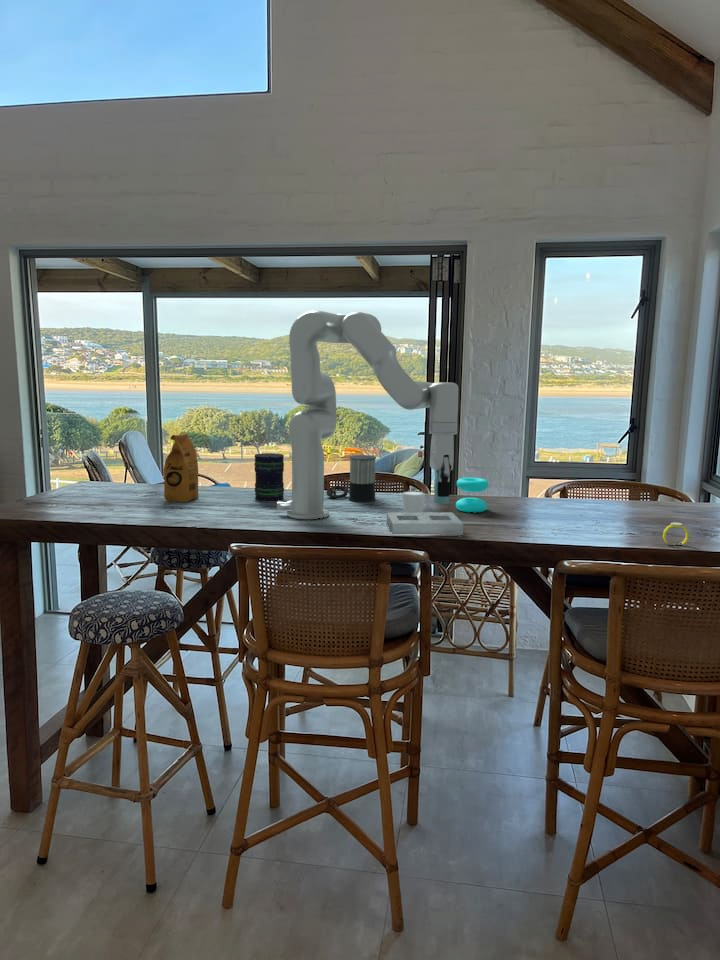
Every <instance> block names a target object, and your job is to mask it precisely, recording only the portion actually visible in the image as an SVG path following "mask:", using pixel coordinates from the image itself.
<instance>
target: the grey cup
mask: <svg viewBox="0 0 720 960" xmlns="http://www.w3.org/2000/svg"><path fill="white" fill-rule="evenodd" d="M425 496H426V493H425V492H422V491H415V490H411V491H404V492H402V504H403V505H402V507H403V512H424V506H425V498H426V497H425Z"/></svg>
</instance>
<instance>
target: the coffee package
mask: <svg viewBox="0 0 720 960" xmlns="http://www.w3.org/2000/svg"><path fill="white" fill-rule="evenodd" d="M170 440H172V441H173V442H174V443H173V444H172V447H171V451H170V452H169V454H168V455H167V457H166V459H165V460H164V464H163V465H164V466H163V480H164V481H163V482H164V483H163V487H164V494H163V498H164V500H165V501H166V502H168V503H170V502H171V503H181V502H182V503H183V502H187V503H189V502H190V501H191V500H193V499H195V500H197V498H198V497H199V496H200V494H199V463H198V455H197V450H196V448H195V445H194V444H193V442H192V440H191V439H190V437H189V435H188V433H187V432H186V431H184V432H182V433H181V434H172V435H171V436H170Z"/></svg>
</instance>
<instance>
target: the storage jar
mask: <svg viewBox="0 0 720 960" xmlns="http://www.w3.org/2000/svg"><path fill="white" fill-rule="evenodd" d="M284 456H285V455H284V454H282V453H275V452H274V453H273V452H272V453H270V452H269V453H267V452H266V453H257V454H254V472H255V482H254V496H255V497H254V500H255V501H257V500H258V502H263V501H265V502H267V501H275V502H279V501H278V500H281V501H283V500H284V495H285V493H284V492H285V487H284V485H285V483H284V471H285V469H284V468H285V462H284ZM267 503H268V502H267Z"/></svg>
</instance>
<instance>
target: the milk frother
mask: <svg viewBox="0 0 720 960" xmlns="http://www.w3.org/2000/svg"><path fill="white" fill-rule="evenodd" d="M348 457H349V459H350V460H349V461H350V462H349V490H348V488H346V487H345V486H342V485H333V486H331V487H329V488H328V489H327V490H326V496H328V497H329V498H332V499H343V498H345V497H346V496H347V495H348V494H349V496H348V500H349V501H351V502H355V503H356V502H357V503H370V502H375V501H376V459H377V457H376V456H375V455H370V454H369V455H367V454H365V455H363V454H360V455H359V454H357V455H350V456H348ZM337 490H340V491H342V492H343V493H341V494H337Z"/></svg>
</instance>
